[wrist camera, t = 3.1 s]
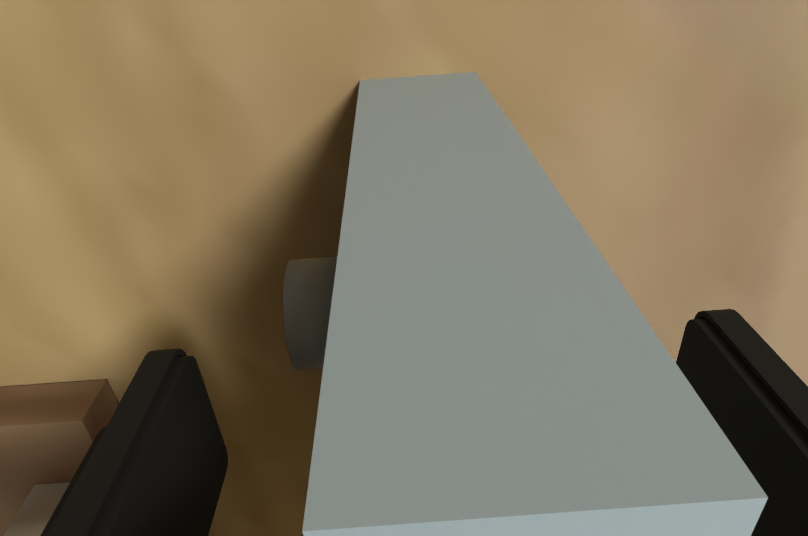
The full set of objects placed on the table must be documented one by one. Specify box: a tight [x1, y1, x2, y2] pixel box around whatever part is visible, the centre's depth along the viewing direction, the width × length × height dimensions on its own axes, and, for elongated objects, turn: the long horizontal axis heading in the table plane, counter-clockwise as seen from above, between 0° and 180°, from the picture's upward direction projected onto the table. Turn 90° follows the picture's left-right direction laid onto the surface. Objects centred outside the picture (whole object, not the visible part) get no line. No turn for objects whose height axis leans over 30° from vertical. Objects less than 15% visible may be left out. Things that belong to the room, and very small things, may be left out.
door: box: [283, 72, 768, 536], centre depth 10 cm, size 10×3×10 cm, turn 3°
